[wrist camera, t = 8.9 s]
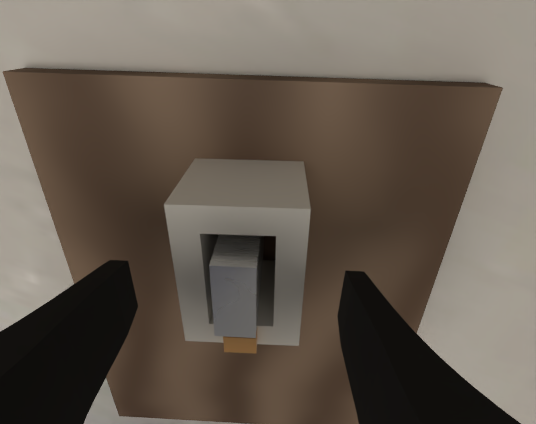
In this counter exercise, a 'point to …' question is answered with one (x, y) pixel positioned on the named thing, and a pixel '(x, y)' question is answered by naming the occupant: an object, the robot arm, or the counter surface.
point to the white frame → (241, 223)
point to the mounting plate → (319, 239)
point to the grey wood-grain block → (236, 284)
